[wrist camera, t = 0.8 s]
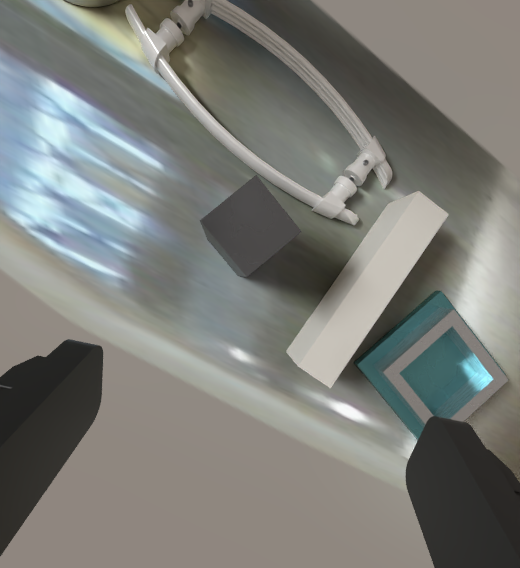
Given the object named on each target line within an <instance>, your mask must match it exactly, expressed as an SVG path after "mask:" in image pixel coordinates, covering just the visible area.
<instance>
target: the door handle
mask: <svg viewBox="0 0 520 568" xmlns="http://www.w3.org/2000/svg"><path fill="white" fill-rule="evenodd" d="M125 13H126V17H127V20H128V22H129V24H130V26H131V27H132V29H133V31H134V33H135V34H136V36H137V38H138V40H139V42H140V43H141V48H142V51H143V52H144V54H145V56H146V57H147V59H148V61H149V62H150V64H151V66H152V67H153V69H154V70H155V72H156V73H157V74H159V73H160V74H161V75H162V76H163V78H164V79H165V80H166V82H167V83H168V85H169V86H170V87H171V89H172V90H173V91H174V93H175V94H176V95H177V96H178V97H179V99H180V100H181V101H182V102H183V103H184V105H185V106H186V107H187V108H188V109H189V110H190V112H191V113H192V114H193V115H194V116H195V117H196V118H197V119H198V120H199V121H200V122H201V124H202V125H203V126H204V127H205V128H206V129H207V130H208V131H209V132H210V133H211V134H212V135H213V136H214V137H215V138H216V139H217V140H218V141H219V142H221V143H222V144H223V145H224V146H225V147H226V148H227V149H228V150H229V151H230V152H232V153H233V154H234V155H235V156H236V157H238V158H239V159H240V160H241V161H243V162H244V163H245V164H246V165H248V166H249V167H250V168H251V169H253V170H254V171H255V172H257V173H258V174H260V175H261V176H262V177H264V178H265V179H267V180H268V181H269V182H271V183H272V184H274V185H275V186H277V187H279V188H280V189H282V190H283V191H285V192H287V193H288V194H290V195H292V196H293V197H295V198H296V199H298V200H300V201H302V202H304V203H306V204H308V205H310V206H312V207H313V209H312V210H311V211H314V212H316V213H319V214H321V215H323V216H326V217H328V218H330V219H332V218H334V217H335V218H337V219H339V220H341V221H344V222H347V223H349V224H352V225H355V224H356V223H357V222H358V221H359V219H360V218H358V217H357V214H354V213H353V212H352V211H350V210H348V209H346V208H344V207H345V206H346V205H345V204H344V202H345V201H346V200H347V198H350V197H352V195H353V194H354V193H355V192H356V191H357V187H356V186H361V185H362V184H363V183H364V181H365V180H366V178H367V176H366V175H367V174H368V173H369V172H370V170H371V169H373V170H374V172H375V174H376V175H377V177H378V179H379V181H380V183H381V185H382V187H383V189H385V188H386V186H387V185H388V184H389V183H390V181H391V179H392V170H391V168H390V166H389V164H388V162H387V161H386V159H385V157H386V154H385V152H384V151H383V149H382V147H381V145H380V144H379V142H378V140H377V138H376V137H375V136H374V137H372V136H371V135H370V133H369V132H368V130H367V129H366V128H365V126H364V125H363V123H362V122H361V120H360V119H359V118H358V116H357V115H356V114H355V113H354V111H353V110H352V109H351V107H350V106H349V105H348V104H347V102H346V101H345V100H344V99H343V97H342V96H341V95H340V94H339V93H338V92H337V91H336V89H335V88H334V87H333V86H332V85H331V84H330V83H329V82H328V80H327V79H326V78H325V77H324V76H323V75H322V74H321V73H320V72H319V71H318V70H317V69H316V68H315V67H314V66H313V65H312V64H311V63H310V62H309V61H308V60H307V59H306V58H305V57H303V56H302V55H301V54H300V53H299V52H298V51H297V50H295V49H294V48H293V47H292V46H291V45H290V44H289V43H287V42H286V41H285V40H284V39H282V38H281V37H280V36H278V35H277V34H276V33H275V32H273V31H272V30H271V29H269V28H268V27H267V26H265V25H264V24H263V23H261V22H260V21H258V20H257V19H255V18H254V17H252V16H251V15H249V14H248V13H246V12H245V11H243V10H242V9H240V8H239V7H237V6H235V5H234V4H232V3H230V2H229V1H227V0H185V1H184V2H183V3H182V4H181V5H180V6H176V7H175V8H174V9H173V10H172V11H171V12H170V16H171V18H172V20H173V21H172V20H171V19H169V18H165V19H164V20H163V22H162V23H161V24H160V29H159V30H158V32H157V33H156V34H155V33H154V32H153V31H152V30H150V29H149V28H147V30H146V29H145V27H144V25H143V23H142V22H141V20H140V18H139V16H138V15H137V13H136V11H135V9H134V7H133V6H132V4H130V5H128V6H127V7H126V10H125ZM210 14H213V15H215V16H217V17H218V18H220V19H222V20H224V21H225V22H227V23H229V24H230V25H232V26H234V27H235V28H237V29H239V30H240V31H242V32H243V33H245V34H246V35H248V36H249V37H250V38H252V39H253V40H255V41H256V42H258V43H259V44H261V45H262V46H263V47H265V48H266V49H267V50H268V51H270V52H271V53H272V54H274V55H275V56H276V57H278V58H279V59H280V60H281V61H282V62H284V63H285V64H286V65H287V66H288V67H289V68H290V69H292V70H293V71H294V72H295V73H296V74H297V75H298V76H299V77H300V78H301V79H302V80H303V81H304V82H305V83H306V84H307V85H309V86H310V87H311V88H312V89H313V90H314V91H315V92H316V93H317V95H318V96H319V97H320V98H321V99H322V100H323V101H324V102H325V104H326V105H327V106H328V107H329V108H330V109H331V110H332V111H333V113H334V114H335V115H336V116H337V118H338V119H339V120H340V122H341V123H342V124H343V125H344V127H345V128H346V129H347V130H348V132H349V133H350V135H351V136H352V137H353V139H354V140H355V142H356V143H357V145H358V146H359V148H360V149H361V151H360V152H359V153H358V155H357V157H358V158H357V159H356V160H355V161H354V162H353V164H350V165H349V166H348V167H347V168H346V169H345V170H344V172H343V173H344V176H345V177H344V176H339V177H338V178H337V180H336V181H335V183H334V187H333V188H332V189H331V190H330V191H329V192H328V193H327V194H326V195H324V196H323V197H320V196H319V195H317V194H315V193H313V192H311V191H309V190H307V189H305V188H304V187H302V186H300V185H299V184H297V183H295V182H294V181H292V180H291V179H289V178H287V177H286V176H284V175H283V174H281V173H280V172H278V171H277V170H275V169H274V168H273V167H271V166H270V165H268V164H267V163H266V162H264V161H263V160H261V159H260V158H259V157H257V156H256V155H255V154H254V153H252V152H251V151H250V150H249V149H248V148H246V147H245V146H244V145H243V144H241V143H240V142H239V141H238V140H237V139H235V138H234V137H233V136H232V135H231V134H230V133H229V132H228V131H227V130H226V129H225V128H224V127H223V126H222V125H220V124H219V123H218V122H217V121H216V120H215V118H214V117H213V116H212V115H211V114H210V113H209V112H208V111H207V110H206V109H205V108H204V107H203V106H202V105H201V104H200V103H199V102H198V100H197V99H196V98H195V97H194V96H193V94H192V93H191V92H190V91H189V90H188V88H187V87H186V86H185V85H184V84H183V82H182V81H181V80H180V79H179V77H178V76H177V75H176V73H175V72H174V71H173V69H172V68H171V66H170V65H169V64H168V62H169V61H170V57H169V53H170V52H171V51H172V50H173V48H174V47H178V46H179V45H180V44H181V43H182V42H183V41H184V36H183V34H182V32H183V33H184V34H185V35H189V34H190V33H191V32H192V30H193V29H194V27H195V26H194V24H195V23H196V22H197V21H198V20H199V19H200V17H201V16H203V17H204V18H205V19H207V18H208V17H209V16H210ZM181 31H182V32H181ZM355 185H356V186H355Z"/></svg>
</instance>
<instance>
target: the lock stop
mask: <svg viewBox="0 0 520 568" xmlns="http://www.w3.org/2000/svg"><path fill="white" fill-rule="evenodd" d="M200 222H201V224H202V227H203V229H204V232H205V235H206V237H207V240H208V241H209V242H210V243H211V244H212V246H213V247H214V248H215V249H216V250H217V251H218V253H219V254H220V255H221V256H222V257H223V259H224V260H225V261H226V262H227V263H228V265H229V266H230V267H231V268H232V269H233V271H234V272H235V273H236V274H237V275H238V276H243V277H248V276H249V275H250V274H251V273H252V272H254V271H255V270H256V269H257V268H258V267H260V266H261V265H262V264H263V263H264V262H266V261H267V260H268V259H269V258H270V257H272V256H273V255H274V254H275V253H276V252H278V251H279V250H280V249H281V248H282V247H284V246H285V245H286V244H287V243H288V242H290V241H291V240H292V239H293V238H294V237H296V236H297V235H298V234H299V233H300V232H301V230H300V229H299V228H298V226H297V225H296V224H295V223H294V221H293V220H292V219H291V218H290V217H289V215H288V214H287V213H286V212H285V210H284V209H283V208H282V207H281V205H280V204H279V203H278V202H277V200H276V199H275V198H274V197H273V195H272V194H271V193H270V192H269V190H268V189H267V188H266V187H265V185H264V184H263V183H262V182H261V180H260V179H259V178H258V177H257V175H256V176H254V177H253V178H252V179H251V180H249V181H248V182H247V183H246V184H245V185H243V186H242V187H241V188H240V189H238V190H237V191H236V192H235V193H233V194H232V195H231V196H230V197H229V198H227V199H226V200H225V201H224V202H222V203H221V204H220V205H219V206H218V207H216V208H215V209H214V210H213V211H211V212H210V213H209V214H208V215H206V216H205V217H204V218H203V219H202V220H200Z"/></svg>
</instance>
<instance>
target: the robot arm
mask: <svg viewBox="0 0 520 568" xmlns="http://www.w3.org/2000/svg"><path fill="white" fill-rule="evenodd" d="M66 1H68V2H70V3H73V4H76V5H81V6H86V7H100V6H105V5H110V4H113V3H115V2H117V1H119V0H66ZM102 370H103V350H102V347H101V346H98V345H94V344H89V343H83V342H79V341H75V340H66V341H64V342H63V343H62V344H60V345H59V346H58V347H57V348H56V349H55V350H54V351H52V352H51V353H50V354H49V355H48V356H47V357H42V356H36V357H34V358H32V359H29V360H27V361H25V362H23V363H20V364H18V365H16V366H14V367H12V368H11V369H10V370H8V371H7V372H6V373H5V374H4V375H2V376H1V377H0V556H1V555H2V553H3V552H4V550H5V549H6V547H7V546H8V544H9V543H10V541H11V540H12V539H13V537H14V536H15V534H16V533H17V531H18V530H19V529H20V527H21V526H22V524H23V523H24V521H25V520H26V518H27V517H28V516H29V514H30V513H31V511H32V510H33V508H34V507H35V506H36V504H37V503H38V501H39V500H40V498H41V497H42V495H43V494H44V492H45V491H46V490H47V488H48V487H49V485H50V484H51V483H52V481H53V480H54V478H55V477H56V475H57V474H58V472H59V471H60V469H61V468H62V467H63V465H64V464H65V462H66V461H67V459H68V458H69V457H70V455H71V454H72V452H73V451H74V449H75V448H76V446H77V445H78V443H79V442H80V441H81V439H82V438H83V436H84V435H85V434H86V432H87V431H88V429H89V428H90V426H91V425H92V423H93V422H94V420H95V418H96V415H97V413H98V410H99V407H100V403H101V395H102ZM406 485H407V490H408V493H409V495H410V498H411V501H412V504H413V507H414V510H415V513H416V516H417V519H418V521H419V524H420V527H421V530H422V532H423V536H424V538H425V541H426V544H427V547H428V550H429V553H430V556H431V558H432V561H433V564H434V567H435V568H520V483H519V481H518V480H517V478H516V477H515V475H514V474H513V473H512V471H511V470H510V469H509V468H508V467H507V466H506V465H505V464H504V463H503V462H502V461H500V460H499V459H498V458H497V457H496V456H495V455H494V454H493V453H492V452H491V451H490V450H487V449H486V448H485V446H484V445H483V443H482V442H481V440H480V439H479V437H478V436H477V434H476V433H475V431H474V430H473V428H472V427H471V426H470V425H469V424H468V423H466V422H462V421H457V420H452V419H447V418H442V417H437V416H432V417H430V418H429V419H428V421H427V422H426V424H425V427H424V429H423V431H422V433H421V435H420V437H419V439H418V441H417V444H416V446H415V448H414V450H413V452H412V454H411V456H410V458H409V461H408V463H407V467H406Z"/></svg>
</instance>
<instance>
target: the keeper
mask: <svg viewBox="0 0 520 568" xmlns="http://www.w3.org/2000/svg"><path fill="white" fill-rule="evenodd" d="M354 363H355V364H356V366H357V367H358V368H359V369H360V371H361V372H362V373H363V374H364V375H365V377H366V378H367V379H368V380H369V382H370V383H371V384H372V385H373V386H374V388H375V389H376V390H377V391H378V392H379V394H380V395H381V396H382V397H383V399H384V400H385V401H386V402H387V403H388V405H389V406H390V407H391V408H392V410H393V411H394V412H395V413H396V414H397V416H398V417H399V418H400V419H401V421H402V422H403V423H404V424H405V425H406V427H407V428H408V429H409V430H410V431H411V433H412V434H413V435H414V436H415V438H416V439H417V440H418V439H419V437H420V435H421V433H422V431H423V429H424V427H425V424H426V422H427V421H428V419H429V418H430V417H432V416H437V417H442V418H447V419H452V420H457V421H462V422H464V421H465V420H466V419H467V418H468V417H469V416H470V415H471V414H472V413H473V412H474V411H476V410H477V409H478V408H479V407H480V406H481V405H482V404H483V403H484V402H485V401H487V400H488V399H489V398H490V397H491V396H492V395H493V394H494V393H495V392H496V391H497V390H499V389H500V388H501V387H502V386H503V385H504V384H505V383H506V382H507V381H508V378H507V377H506V376H505V375H506V374H505V373H504V372H503V371H502V369H501V368H500V367H499V365H498V364H497V363H496V362H495V360H494V359H493V358H492V356H491V355H490V354H489V352H488V351H487V350H486V349H485V347H484V346H483V345H482V343H481V342H480V341H479V340H478V338H477V337H476V336H475V334H474V333H473V332H472V330H471V329H470V328H469V327H468V325H467V324H466V323H465V321H464V320H463V319H462V318H461V316H460V315H459V314H458V312H457V311H456V310H455V308H454V307H453V306H452V305H451V303H450V302H449V301H448V299H447V298H446V297H445V296H444V294H443V293H442V292H441V291H435V292H434V293H433V294H432V295H430V296H429V297H428V298H427V299H426V300H425V301H424V302H422V303H421V304H420V305H419V306H418V307H417V308H416V309H414V310H413V311H412V312H411V313H410V314H409V315H408V316H406V317H405V318H404V319H403V320H402V321H401V322H400V323H398V324H397V325H396V326H395V327H394V328H393V329H392V330H391V331H389V332H388V333H387V334H386V335H385V336H384V337H383V338H381V339H380V340H379V341H378V342H377V343H376V344H375V345H373V346H372V347H371V348H370V349H369V350H368V351H367V352H365V353H364V354H363V355H362V356H361V357H360V358H359V359H357V360H356V361H355V362H354Z"/></svg>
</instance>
